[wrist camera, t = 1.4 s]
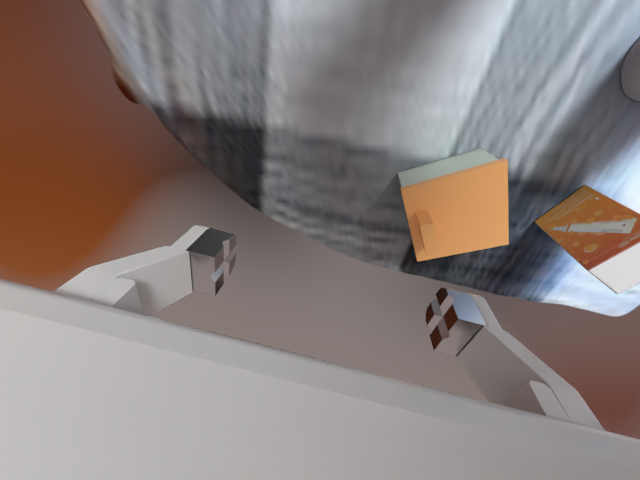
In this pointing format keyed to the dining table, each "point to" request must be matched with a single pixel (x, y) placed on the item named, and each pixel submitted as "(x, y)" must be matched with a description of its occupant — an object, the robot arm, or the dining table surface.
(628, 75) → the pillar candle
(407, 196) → the lid
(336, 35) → the dining table surface
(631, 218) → the small box
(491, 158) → the tub
